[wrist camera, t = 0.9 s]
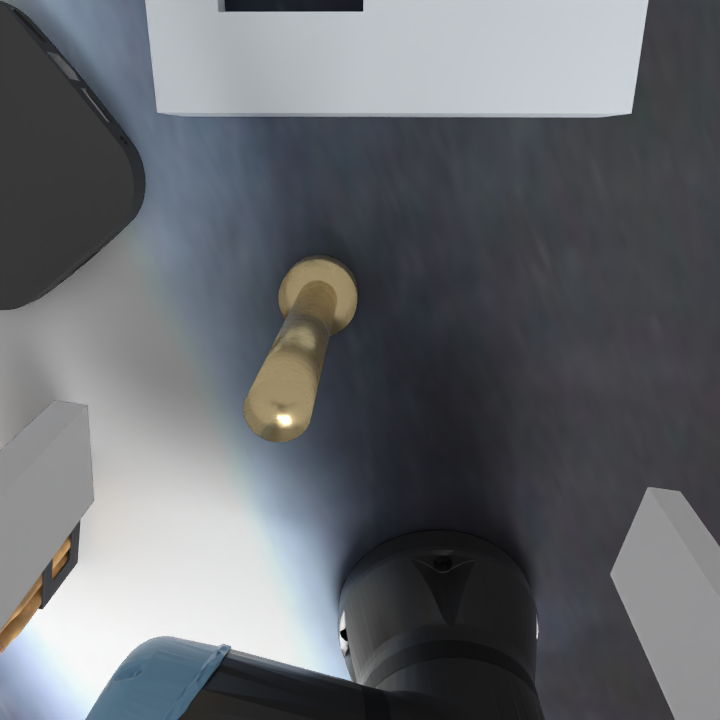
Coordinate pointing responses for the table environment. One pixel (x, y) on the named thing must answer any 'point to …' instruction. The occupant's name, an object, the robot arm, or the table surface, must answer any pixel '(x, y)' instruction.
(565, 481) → the table surface
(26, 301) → the media streaming box
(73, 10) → the table surface
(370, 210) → the table surface
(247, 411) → the brass peg
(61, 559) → the ammunition clip
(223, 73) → the keyhole plate
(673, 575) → the robot arm
